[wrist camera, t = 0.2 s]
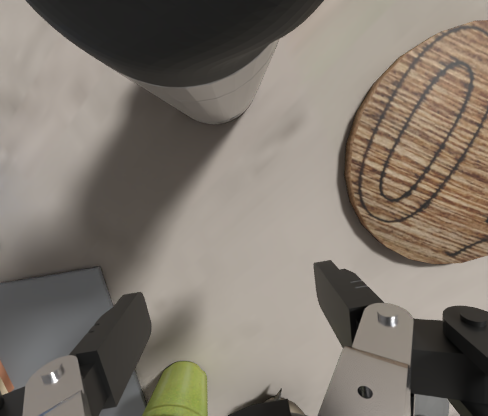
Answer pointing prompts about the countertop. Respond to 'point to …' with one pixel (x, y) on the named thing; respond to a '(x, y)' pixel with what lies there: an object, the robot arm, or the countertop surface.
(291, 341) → the countertop surface
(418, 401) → the cup
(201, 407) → the plant pot
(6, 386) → the maple block
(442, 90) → the trivet
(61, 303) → the rubber mat
